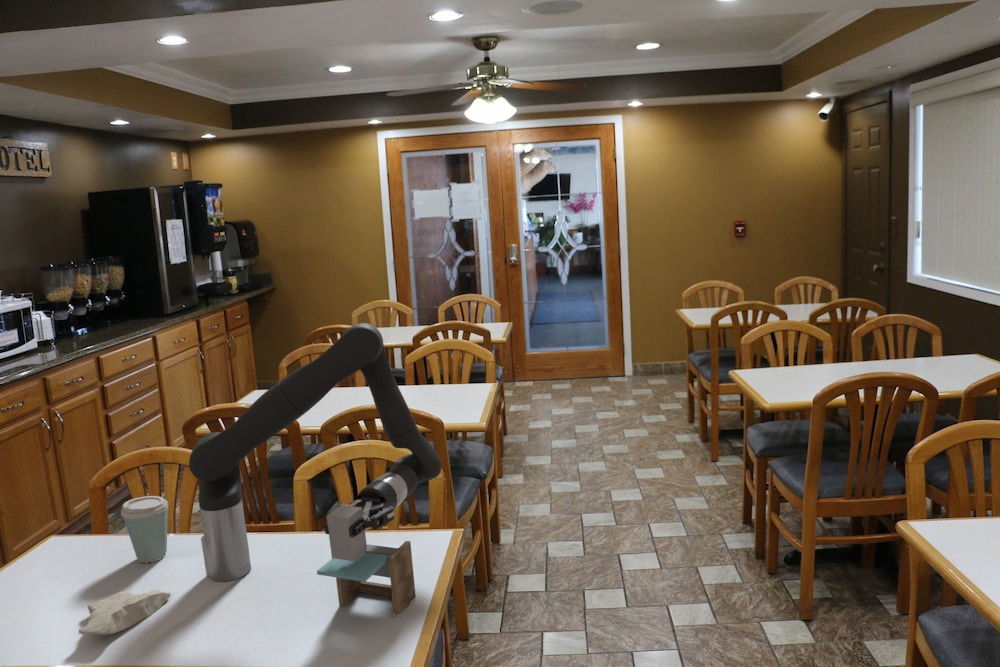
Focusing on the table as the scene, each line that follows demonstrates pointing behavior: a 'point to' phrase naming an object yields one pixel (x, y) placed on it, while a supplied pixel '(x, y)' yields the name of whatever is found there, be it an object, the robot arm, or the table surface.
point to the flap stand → (399, 588)
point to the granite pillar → (345, 533)
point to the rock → (122, 611)
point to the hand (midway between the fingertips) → (338, 531)
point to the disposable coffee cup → (147, 526)
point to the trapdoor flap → (360, 565)
